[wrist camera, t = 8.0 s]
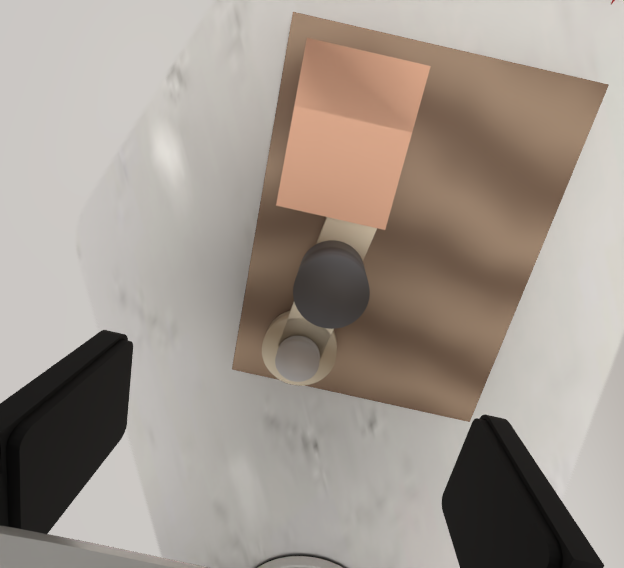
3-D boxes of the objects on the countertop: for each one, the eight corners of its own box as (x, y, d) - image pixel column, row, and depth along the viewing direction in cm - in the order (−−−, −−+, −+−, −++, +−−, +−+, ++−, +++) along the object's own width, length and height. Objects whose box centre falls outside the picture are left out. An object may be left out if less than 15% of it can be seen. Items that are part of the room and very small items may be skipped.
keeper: (377, 219, 25) (385, 230, 21) (285, 197, 25) (275, 205, 21) (414, 81, 22) (430, 66, 18) (312, 58, 22) (306, 37, 18)
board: (463, 409, 30) (484, 451, 26) (236, 359, 30) (220, 393, 26) (591, 89, 23) (651, 73, 19) (295, 20, 23) (286, -12, 19)
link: (321, 383, 28) (318, 434, 23) (256, 359, 28) (238, 406, 23) (406, 191, 24) (425, 201, 19) (330, 161, 24) (328, 162, 18)
